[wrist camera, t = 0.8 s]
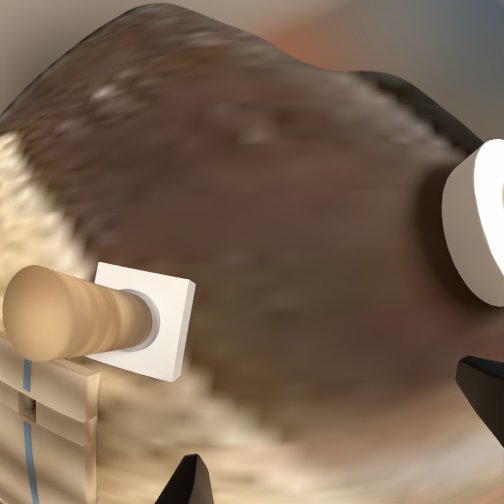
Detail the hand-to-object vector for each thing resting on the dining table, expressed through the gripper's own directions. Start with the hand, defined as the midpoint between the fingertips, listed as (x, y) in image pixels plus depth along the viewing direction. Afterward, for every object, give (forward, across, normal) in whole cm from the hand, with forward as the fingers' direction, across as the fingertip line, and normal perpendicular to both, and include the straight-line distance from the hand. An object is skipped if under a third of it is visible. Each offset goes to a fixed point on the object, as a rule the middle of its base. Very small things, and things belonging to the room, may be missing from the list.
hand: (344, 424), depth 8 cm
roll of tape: (+15, -24, +2) cm, 29 cm away
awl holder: (+15, +10, +1) cm, 18 cm away
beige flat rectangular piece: (+10, +24, +10) cm, 28 cm away
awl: (+15, +10, +1) cm, 17 cm away
